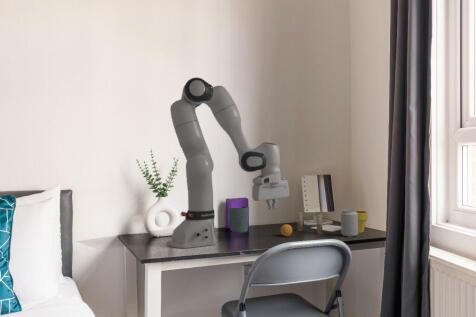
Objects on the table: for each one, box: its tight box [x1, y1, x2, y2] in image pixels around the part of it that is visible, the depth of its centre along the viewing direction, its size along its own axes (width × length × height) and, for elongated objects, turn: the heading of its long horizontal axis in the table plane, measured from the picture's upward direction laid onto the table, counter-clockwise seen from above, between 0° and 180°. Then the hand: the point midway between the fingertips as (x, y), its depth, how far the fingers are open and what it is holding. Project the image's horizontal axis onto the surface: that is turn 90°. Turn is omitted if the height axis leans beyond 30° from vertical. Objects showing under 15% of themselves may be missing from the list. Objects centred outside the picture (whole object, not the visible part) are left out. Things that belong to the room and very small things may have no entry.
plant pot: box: [355, 209, 369, 234], centre depth 226 cm, size 10×10×10 cm
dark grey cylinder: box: [228, 205, 250, 233], centre depth 234 cm, size 10×10×12 cm
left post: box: [296, 211, 304, 232], centre depth 232 cm, size 3×3×9 cm
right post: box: [316, 213, 323, 235], centre depth 223 cm, size 3×3×9 cm
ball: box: [280, 224, 293, 237], centre depth 217 cm, size 6×6×6 cm
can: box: [340, 208, 359, 238], centre depth 216 cm, size 8×8×12 cm
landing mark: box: [310, 224, 341, 232], centre depth 237 cm, size 14×14×1 cm
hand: (272, 209), depth 211 cm, fingers closed
